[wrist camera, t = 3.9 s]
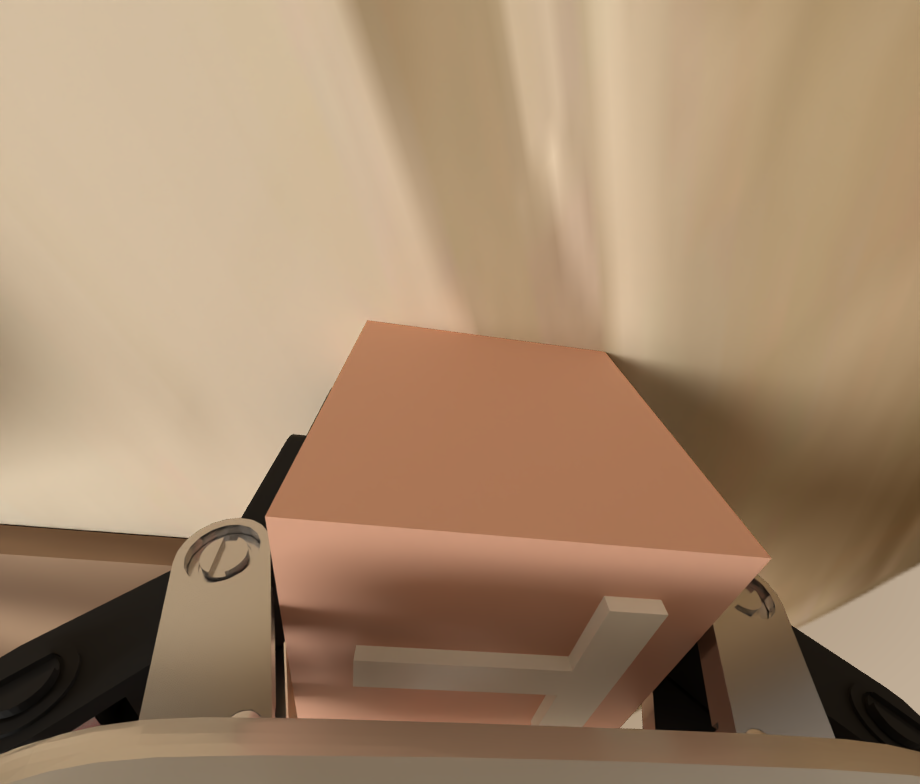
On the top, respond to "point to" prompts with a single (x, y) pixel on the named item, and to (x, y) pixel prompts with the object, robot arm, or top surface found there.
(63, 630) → the robot arm
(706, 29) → the top surface
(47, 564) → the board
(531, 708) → the lettered cube
